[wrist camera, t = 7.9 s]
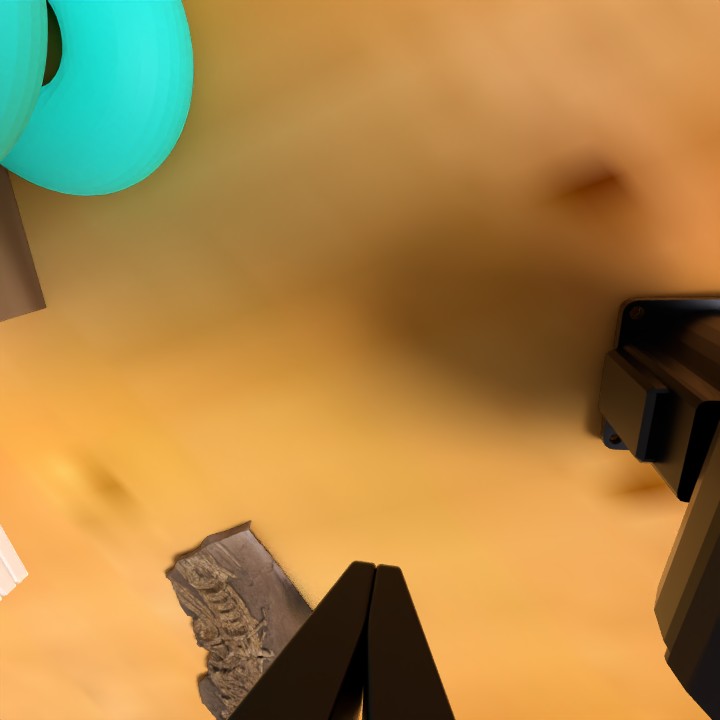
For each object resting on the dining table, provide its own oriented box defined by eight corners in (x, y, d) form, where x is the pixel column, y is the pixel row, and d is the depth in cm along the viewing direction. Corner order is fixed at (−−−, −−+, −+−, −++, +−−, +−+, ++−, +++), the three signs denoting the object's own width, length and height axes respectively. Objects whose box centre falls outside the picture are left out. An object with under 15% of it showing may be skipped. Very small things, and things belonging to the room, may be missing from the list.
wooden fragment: (154, 515, 26) (143, 528, 25) (342, 520, 24) (338, 534, 23) (236, 792, 35) (230, 810, 34) (379, 812, 33) (377, 831, 32)
